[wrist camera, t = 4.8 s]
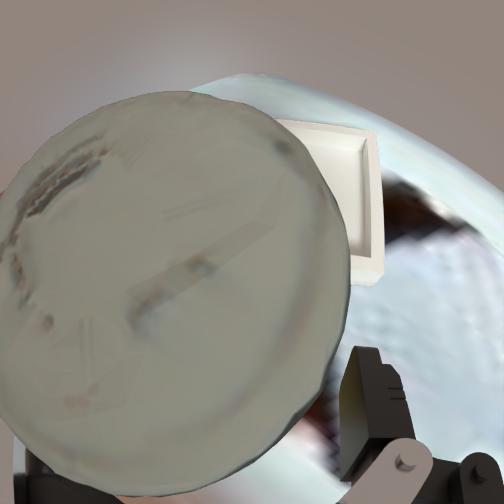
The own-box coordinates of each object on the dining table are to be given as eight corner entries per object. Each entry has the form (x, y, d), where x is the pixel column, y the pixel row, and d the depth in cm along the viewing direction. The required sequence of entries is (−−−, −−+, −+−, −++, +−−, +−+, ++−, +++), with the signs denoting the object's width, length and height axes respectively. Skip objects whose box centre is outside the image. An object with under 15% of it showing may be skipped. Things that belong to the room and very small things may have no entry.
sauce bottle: (203, 328, 22) (-6, 110, 4) (287, 312, 22) (314, 11, 4) (217, 415, 19) (-61, 488, 1) (306, 400, 19) (531, 476, 1)
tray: (369, 153, 28) (375, 132, 25) (372, 287, 22) (384, 273, 19) (214, 137, 30) (209, 115, 27) (172, 258, 24) (160, 242, 22)
